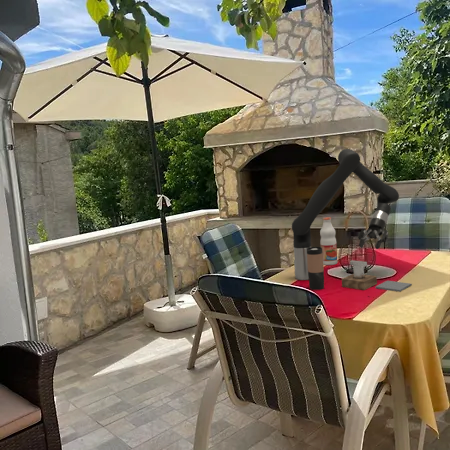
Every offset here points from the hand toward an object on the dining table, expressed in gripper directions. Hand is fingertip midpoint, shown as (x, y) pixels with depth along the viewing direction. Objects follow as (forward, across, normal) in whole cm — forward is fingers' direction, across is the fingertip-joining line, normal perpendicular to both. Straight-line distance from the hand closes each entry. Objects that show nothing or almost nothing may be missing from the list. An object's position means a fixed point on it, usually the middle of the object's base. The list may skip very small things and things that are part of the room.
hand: (368, 247), depth 220 cm
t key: (+19, 0, +5) cm, 20 cm away
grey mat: (+16, +15, +8) cm, 23 cm away
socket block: (+19, 0, +5) cm, 20 cm away
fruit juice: (-4, -39, +28) cm, 48 cm away
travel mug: (+29, -16, -5) cm, 33 cm away
